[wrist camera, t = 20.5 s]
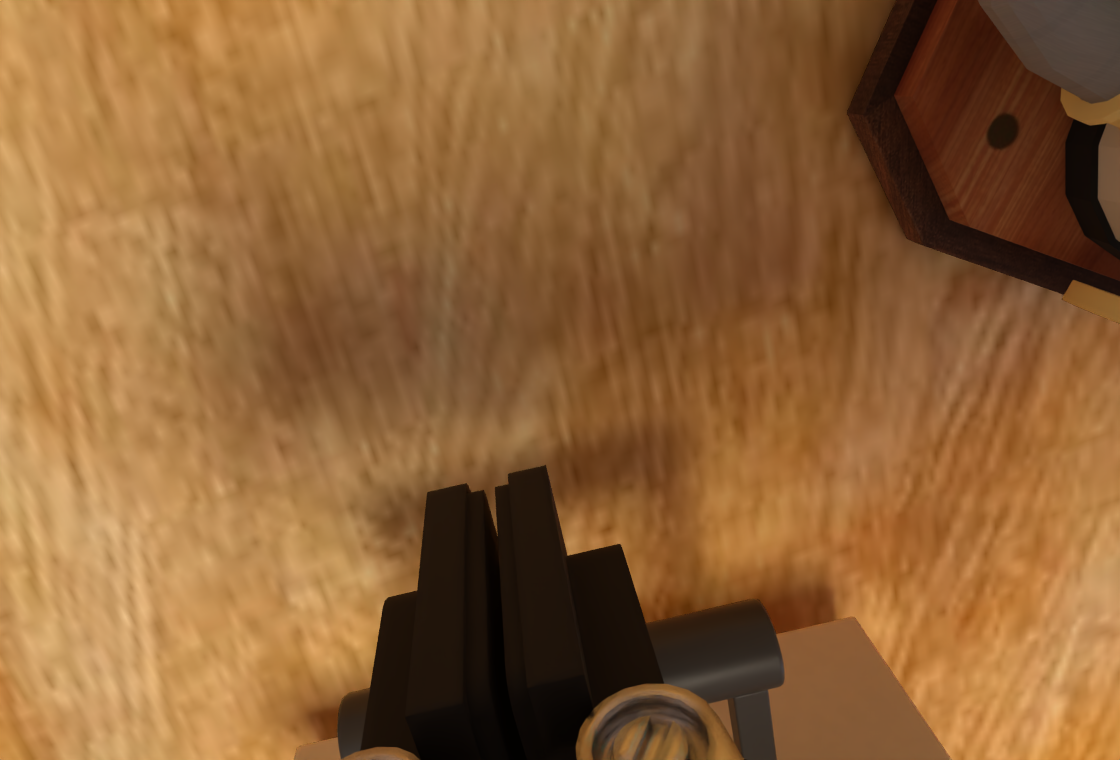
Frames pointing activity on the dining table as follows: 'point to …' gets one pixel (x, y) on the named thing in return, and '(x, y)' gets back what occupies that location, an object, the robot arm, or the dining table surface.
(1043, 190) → the contraption on wooden base
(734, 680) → the drawer
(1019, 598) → the dining table surface
